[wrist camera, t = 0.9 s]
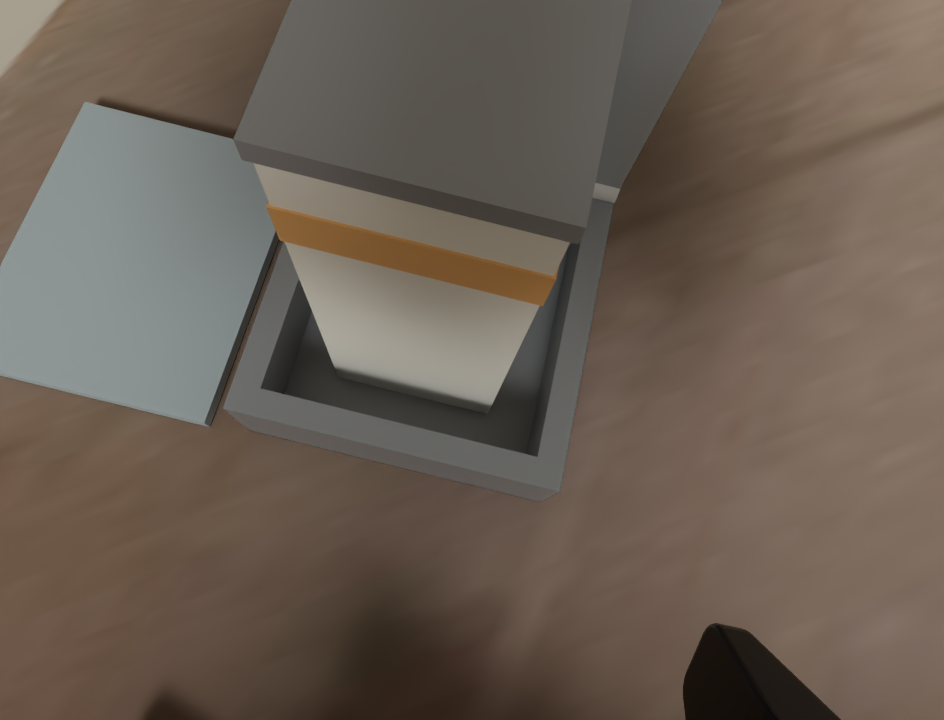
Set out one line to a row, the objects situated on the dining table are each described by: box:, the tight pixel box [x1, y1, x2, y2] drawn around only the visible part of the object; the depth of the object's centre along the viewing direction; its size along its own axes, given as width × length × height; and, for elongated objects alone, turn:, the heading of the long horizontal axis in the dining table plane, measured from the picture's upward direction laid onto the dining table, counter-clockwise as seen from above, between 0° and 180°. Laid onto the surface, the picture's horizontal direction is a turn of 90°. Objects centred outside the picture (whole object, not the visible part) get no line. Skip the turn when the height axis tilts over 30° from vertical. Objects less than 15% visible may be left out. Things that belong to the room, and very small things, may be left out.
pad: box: [0, 102, 279, 427], centre depth 22 cm, size 10×8×1 cm
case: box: [223, 0, 723, 502], centre depth 16 cm, size 10×10×13 cm
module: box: [233, 0, 632, 414], centre depth 16 cm, size 5×5×12 cm
